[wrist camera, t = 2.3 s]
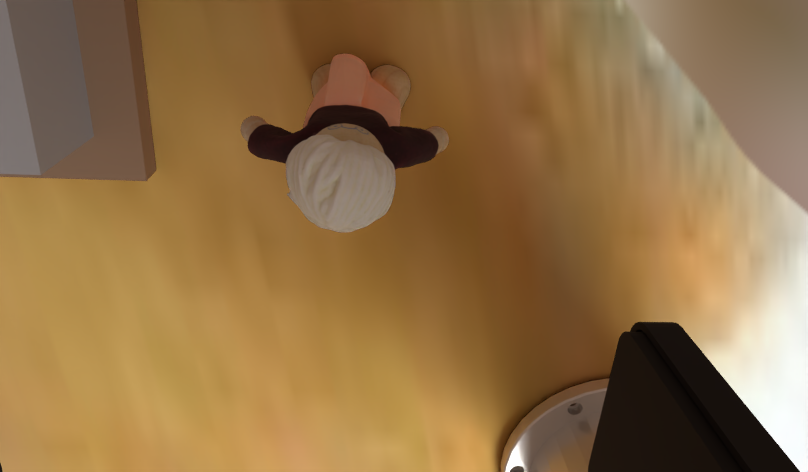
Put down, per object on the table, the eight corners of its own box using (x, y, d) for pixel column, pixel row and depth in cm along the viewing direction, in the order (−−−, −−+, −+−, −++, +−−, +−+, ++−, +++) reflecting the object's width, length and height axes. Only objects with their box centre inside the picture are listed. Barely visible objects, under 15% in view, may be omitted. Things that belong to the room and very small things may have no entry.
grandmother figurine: (427, 38, 28) (472, 107, 17) (435, 122, 30) (481, 238, 18) (256, 62, 28) (182, 146, 16) (274, 144, 30) (218, 274, 18)
